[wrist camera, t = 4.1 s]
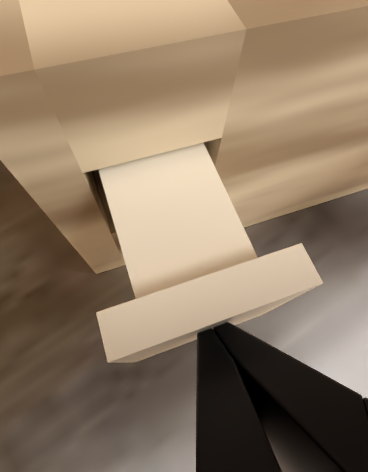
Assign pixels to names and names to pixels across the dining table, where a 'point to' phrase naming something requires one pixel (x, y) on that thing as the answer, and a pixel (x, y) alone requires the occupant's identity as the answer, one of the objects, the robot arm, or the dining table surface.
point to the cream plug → (187, 256)
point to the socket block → (183, 102)
